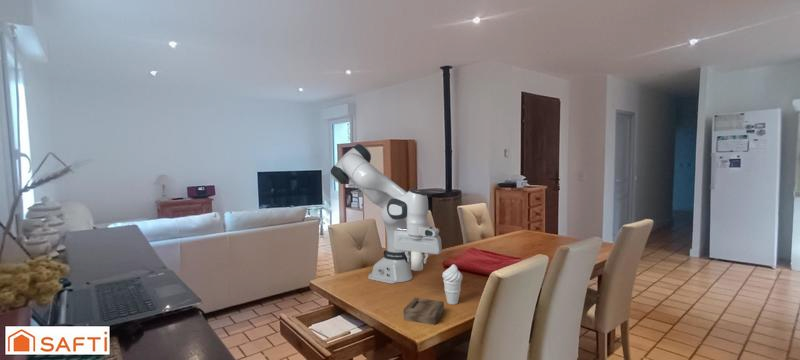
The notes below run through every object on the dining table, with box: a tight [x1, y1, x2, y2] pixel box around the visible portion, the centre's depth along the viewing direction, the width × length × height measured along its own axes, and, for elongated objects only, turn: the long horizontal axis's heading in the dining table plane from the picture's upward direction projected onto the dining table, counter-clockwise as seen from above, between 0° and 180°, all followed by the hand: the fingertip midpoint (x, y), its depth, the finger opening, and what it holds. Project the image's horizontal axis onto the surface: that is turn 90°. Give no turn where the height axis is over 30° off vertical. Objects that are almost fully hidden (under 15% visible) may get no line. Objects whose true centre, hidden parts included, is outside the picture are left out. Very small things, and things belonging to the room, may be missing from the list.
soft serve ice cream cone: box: [441, 263, 464, 305], centre depth 151 cm, size 8×8×16 cm
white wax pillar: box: [410, 252, 424, 272], centre depth 152 cm, size 5×5×8 cm
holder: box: [403, 297, 445, 325], centre depth 139 cm, size 12×12×4 cm
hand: (417, 262), depth 152 cm, fingers closed on white wax pillar, 5 cm apart
